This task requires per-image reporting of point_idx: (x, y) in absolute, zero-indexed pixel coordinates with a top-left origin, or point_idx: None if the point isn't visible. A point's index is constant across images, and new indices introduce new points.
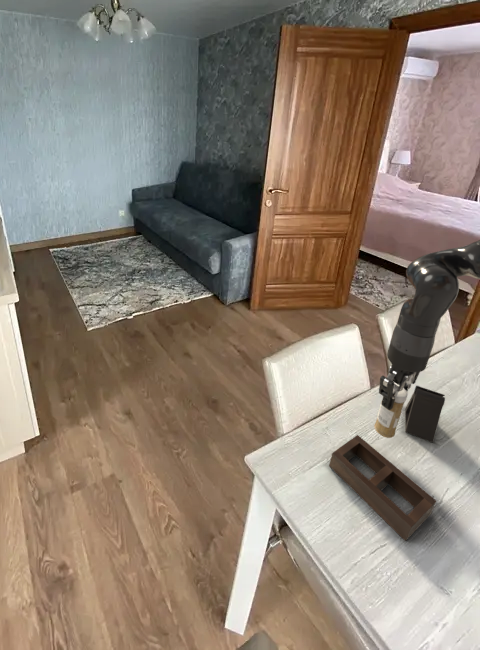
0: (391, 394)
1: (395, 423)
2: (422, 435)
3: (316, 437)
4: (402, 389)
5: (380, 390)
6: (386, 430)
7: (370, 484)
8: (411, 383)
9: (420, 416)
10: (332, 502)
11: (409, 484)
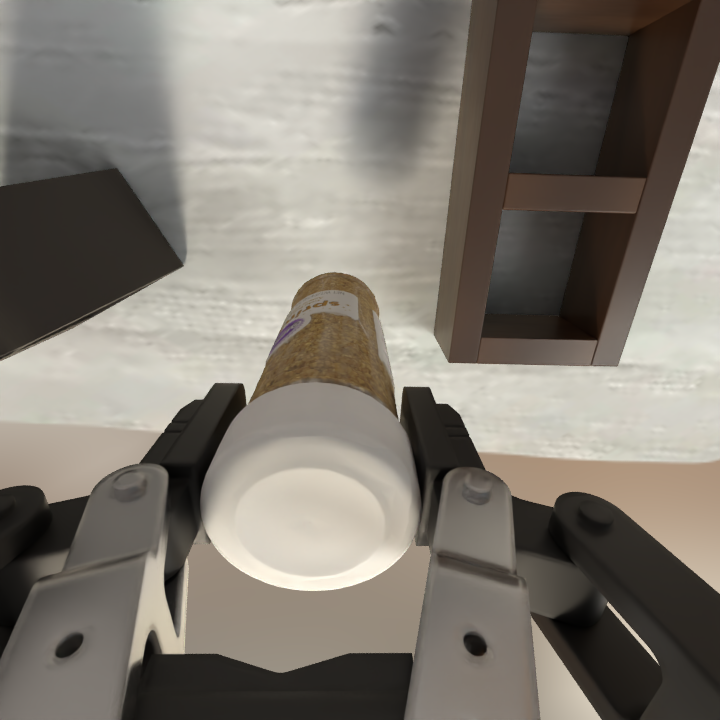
0: (670, 591)
1: (351, 303)
2: (135, 212)
3: (502, 420)
4: (430, 577)
5: (636, 650)
6: (374, 307)
7: (657, 196)
8: (126, 569)
9: (80, 261)
10: (700, 253)
11: (520, 82)
